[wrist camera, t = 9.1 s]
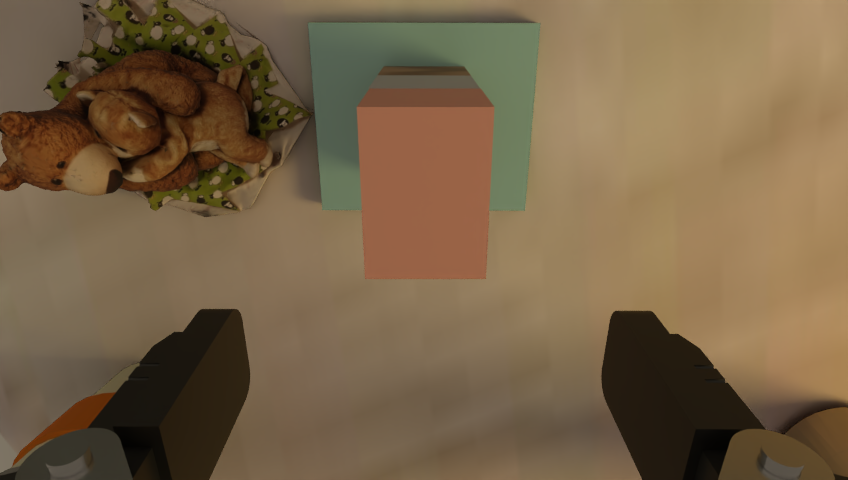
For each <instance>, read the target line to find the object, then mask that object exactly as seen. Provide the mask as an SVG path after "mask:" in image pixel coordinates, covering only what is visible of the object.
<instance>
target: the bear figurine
mask: <svg viewBox="0 0 848 480" xmlns="http://www.w3.org/2000/svg"><path fill="white" fill-rule="evenodd" d="M79 3H80V5H81V6H82V7H83V16H84V33H85V37H84V41H83V45H82V50H81V51H79V53H78V55H77V56H78V57H80V58H81V57H88V58H87V59H86V60H83V61H82V62H81V61H80V58H78V59H76V60H73V61H71V62H63V61H58V62H59V64H56V65H57V67H55V68H58V72H57V73H56V74H55V75H54V76H53V77H52V78H51V79H50V80H49V81H48V82H47V87H46V88H45V89H44V91H45V92H46V93H48V94H49V95H50V96H51V97H52V98H53V99H55V100H56V101H58V102H59V104H58V105H57V106H56V107H54V108H53V109H50V110H45V111H35V112H29V113H27V112H23V113H22V112H21V111H18V112H14V111H9V112H6V113H2V114H1V115H0V132H2V140H1V144H2V147H3V152H4V154H5V156H6V158H7V161H5V162H4V163H3V164H2V166H1V167H0V189H1V190H4V191H10V190H14V189H16V188H18V187H19V186H20V185H21V184H22V183H28V184H31V185H33V186H37V187H39V188H42V189H45V190H46V189H48V190H51V191H61V190H72V191H74V192H77V193H81V194H85V195H103V194H108V193H113V192H115V191H116V190H117V189H119V188H122V189H125V190H128V191H134V192H136V193H137V194H138V195H140V196H141V197H143V198H144V199H146V200H148V203H150V208H151V209H153V210H155V211H156V210H158V209H159V208H160V207H162V206H163V205H172V206H174V207H177V208H180V209H183V210H186V211H189V212H192V213H195V214H198V215H201V216H204V217H209V216H216V215H223V214H230V213H238V212H241V210H242V209H250V208H251V207H252V205H253V203H254V201H255V199H256V197H257V196H258V194H259V192H260V190H261V188H262V186H263V185H264V183H265V181H266V179H267V177H268V175H269V174H270V172H271V171H273V170H274V169H276V168H278V167H280V166H282V164H283V163H284V161H285V159H286V158H287V156H288V154H289V152H290V151H291V149H292V147H293V146H294V144H295V142H296V140H297V139H298V137H299V135H300V134H301V132H302V130H303V128H304V127H305V125H306V123H307V122H308V120H309V118H310V116H311V115H313V114H314V113H313V112H309V111H308V110H307V109H306V107H304V106H303V104H302V102H301V100H300V99H299V98H298V96H297V95H296V93H295V92H294V91H293V89H292V88H291V86H290V85H289V83H288V82H287V81H286V79H285V78H284V76H283V75H282V74H281V72H280V71H279V69H278V68H277V67H276V65H275V64H274V62H273V61H272V59H271V56H270V53H269V50H268V47H267V46H266V45H265V44H264V43H262V42H261V41H260V40H258V39H257V38H256V37H254V36H253V35H252V34H251V33H249V32H248V31H247V30H246V31H247V32H248V33H249V34H251V35H252V36H253V37H254V38H252V37H249V36H244V35H241V34H240V33H238V32H237V31H236V30H235V29H233V28H232V27H231V26H230V25H229V24H228V22H227V21H226V18H225V15H224V14H223V13H221V12H220V11H216V10H213V9H210V8H208V7H205V6H203V5H201V4H199V3H197V2H195V1H193V0H98V1H97V3H96V4H95V5H94V6H93V7H92V6H89V5H86V4H83V3H81V2H79ZM99 23H102V24H103V25H104V27H103V28H101V31H100V34H99V37H98V40H97V42H94V41H93V40H91V39H92V37H93V35H94V33H95V31H96V29H97V27H98V25H99ZM238 25H239V24H238ZM242 28H243V27H242ZM243 29H244V28H243ZM244 30H245V29H244ZM255 38H256V39H255ZM260 59H262V61H260Z"/></svg>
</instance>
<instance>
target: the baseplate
mask: <svg viewBox="0 0 848 480" xmlns="http://www.w3.org/2000/svg"><path fill="white" fill-rule="evenodd" d="M308 30H309V43H310V56H311V69H312V82H313V95H314V108H315V121H316V134H317V147H318V160H319V173H320V186H321V199H322V210H362V205H361V184H360V164H359V144H358V124H357V106H358V105H359V103H360V102H361V100H362V99H363V97H364V96H365V94H366V93H367V91H368V90H369V86H370V85H371V84H372V82H373V81H374V79H375V78H376V77H377V75H378V74H379V72H380V71H381V70H382V68H383V67H384V66H464V67H465V68H466V69H467V71H468V72H469V74H470V75H471V76H472V78H473V79H474V81H475V82H476V83H477V85H478V86H479V87H480V88H481V89H482V91H483V92H484V93H485V95H486V96H487V97H488V99H489V100H490V102H491V103H492V104H493V106H494V107H495V108H494V127H493V147H492V166H491V186H490V205H489V210H510V211H525V204H526V192H527V179H528V167H529V155H530V143H531V131H532V119H533V107H534V95H535V83H536V70H537V58H538V46H539V34H540V23H430V22H309V23H308Z"/></svg>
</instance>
